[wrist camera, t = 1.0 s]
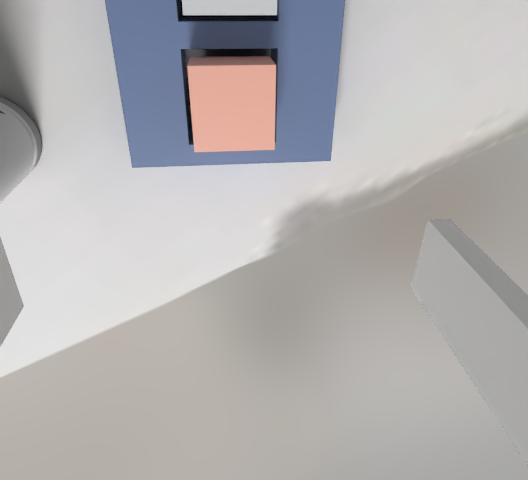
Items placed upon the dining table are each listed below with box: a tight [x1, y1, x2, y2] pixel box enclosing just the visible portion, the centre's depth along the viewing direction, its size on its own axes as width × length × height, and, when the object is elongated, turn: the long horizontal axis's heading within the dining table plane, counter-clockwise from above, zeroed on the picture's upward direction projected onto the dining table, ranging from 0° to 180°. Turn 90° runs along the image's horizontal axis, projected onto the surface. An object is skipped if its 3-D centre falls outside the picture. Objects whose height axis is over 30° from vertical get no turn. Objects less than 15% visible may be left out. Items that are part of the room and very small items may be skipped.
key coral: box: [187, 56, 276, 152], centre depth 27 cm, size 5×5×4 cm
